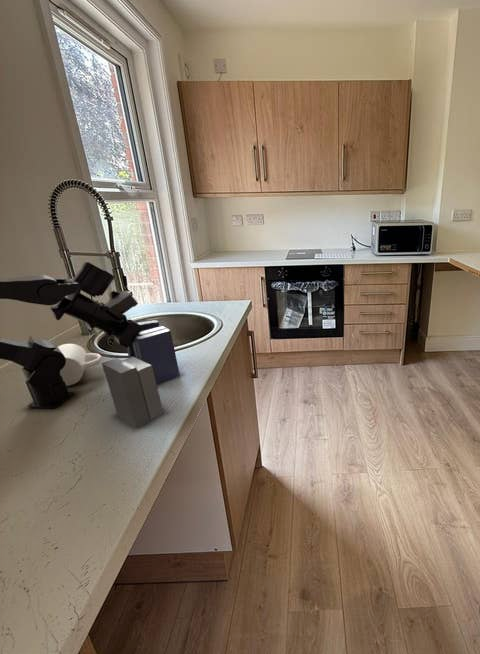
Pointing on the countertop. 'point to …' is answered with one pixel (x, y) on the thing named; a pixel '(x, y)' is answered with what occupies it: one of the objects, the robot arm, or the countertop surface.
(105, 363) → the grey books
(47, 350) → the robot arm
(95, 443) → the countertop surface
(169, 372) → the navy books
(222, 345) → the countertop surface
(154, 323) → the navy book
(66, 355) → the mug
